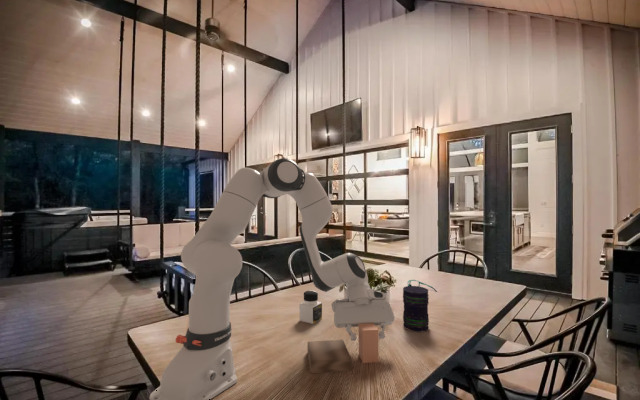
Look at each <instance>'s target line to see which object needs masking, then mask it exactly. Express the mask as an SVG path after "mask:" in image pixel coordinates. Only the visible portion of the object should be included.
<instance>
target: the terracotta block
mask: <svg viewBox="0 0 640 400" xmlns="http://www.w3.org/2000/svg"><path fill="white" fill-rule="evenodd" d="M358 356H359V359H361V363H362V364H366V363H379V328H378V326H375V325H374V323H367V324H359V327H358Z"/></svg>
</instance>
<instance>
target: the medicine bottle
mask: <svg viewBox="0 0 640 400" xmlns="http://www.w3.org/2000/svg"><path fill="white" fill-rule="evenodd" d="M318 296H319V294H318V291H315V290H313V289H311V290H306V291H304V292H303V302H301V303H300V304H299V307H298V308H299V321H300V322H303V323H306V324H307V323H308V324H311V325H315V324H316V323H317V322H319V321H320V320H322V319H323V303H322V302H321V301H319V297H318Z"/></svg>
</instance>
